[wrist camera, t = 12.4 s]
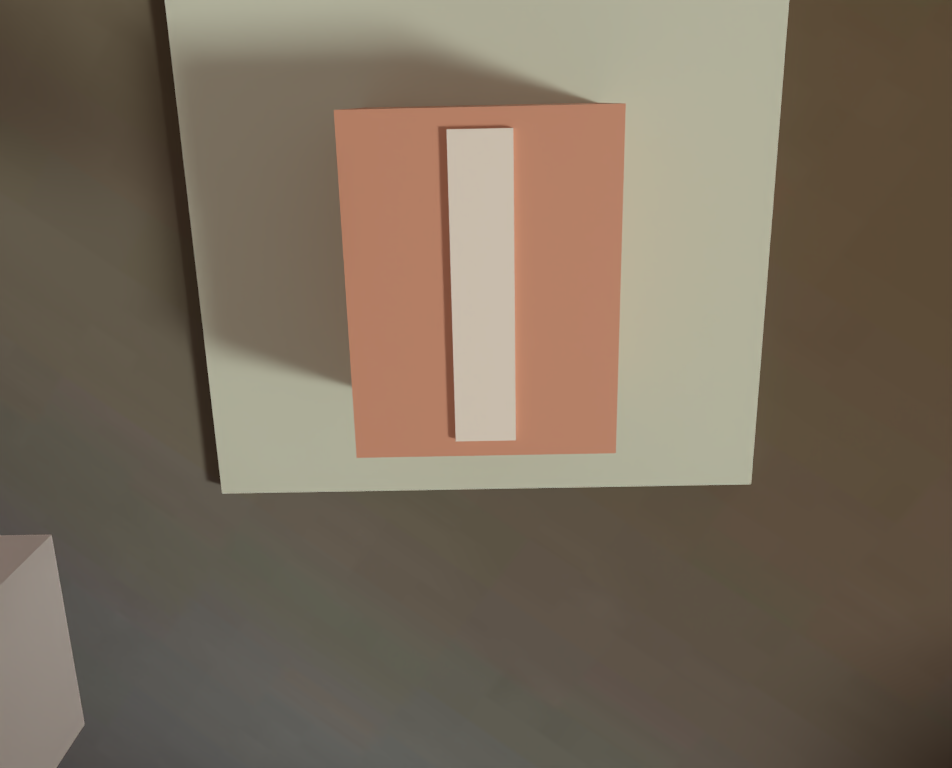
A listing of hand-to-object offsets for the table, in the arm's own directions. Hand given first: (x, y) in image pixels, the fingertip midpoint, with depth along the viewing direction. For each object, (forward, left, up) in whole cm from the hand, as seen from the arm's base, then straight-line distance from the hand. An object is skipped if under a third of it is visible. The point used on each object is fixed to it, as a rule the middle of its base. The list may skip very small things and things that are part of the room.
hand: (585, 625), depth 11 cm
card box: (+1, -2, -18) cm, 18 cm away
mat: (+1, -2, -19) cm, 19 cm away
